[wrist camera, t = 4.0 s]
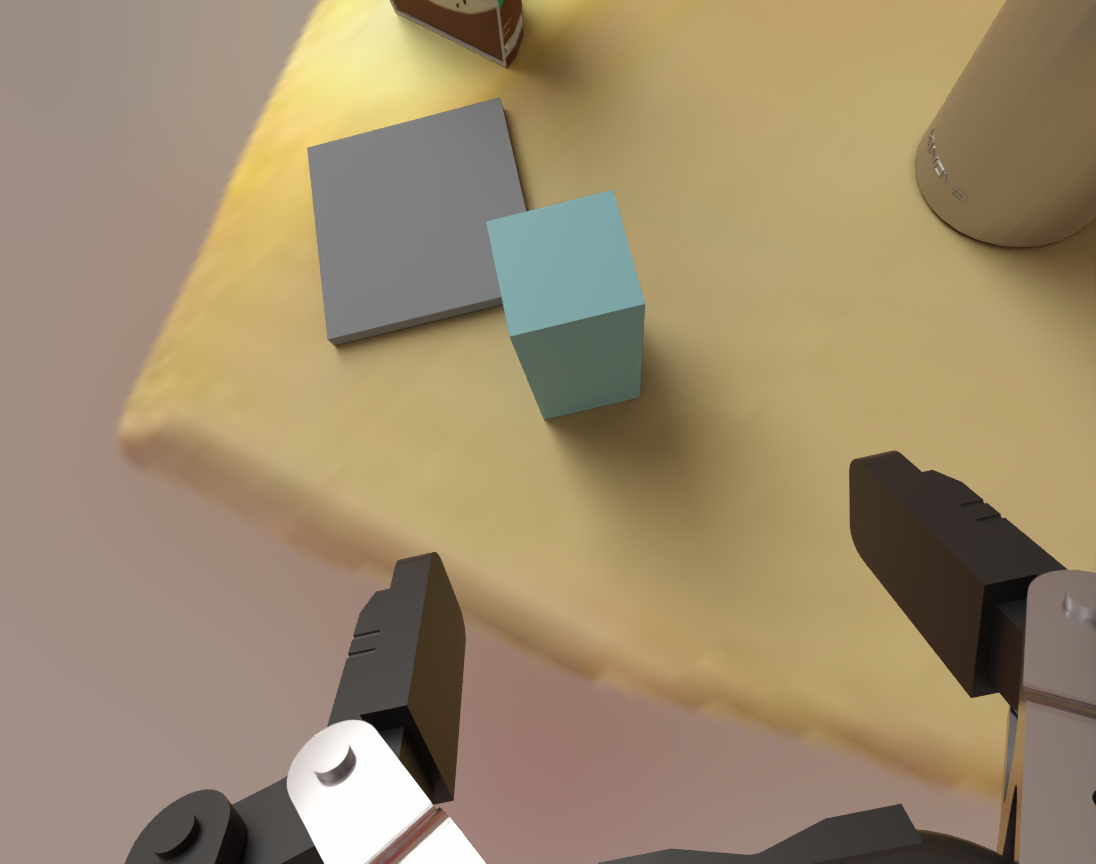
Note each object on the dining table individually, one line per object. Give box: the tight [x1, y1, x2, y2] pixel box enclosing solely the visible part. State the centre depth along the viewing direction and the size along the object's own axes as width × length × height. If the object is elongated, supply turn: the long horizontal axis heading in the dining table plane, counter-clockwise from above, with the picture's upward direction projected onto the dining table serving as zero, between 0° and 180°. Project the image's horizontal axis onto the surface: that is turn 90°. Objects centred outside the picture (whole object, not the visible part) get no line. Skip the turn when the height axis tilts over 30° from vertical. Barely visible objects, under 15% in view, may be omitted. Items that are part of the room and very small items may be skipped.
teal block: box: [486, 190, 645, 420], centre depth 28 cm, size 5×5×10 cm
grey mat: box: [307, 98, 526, 345], centre depth 37 cm, size 12×13×1 cm
